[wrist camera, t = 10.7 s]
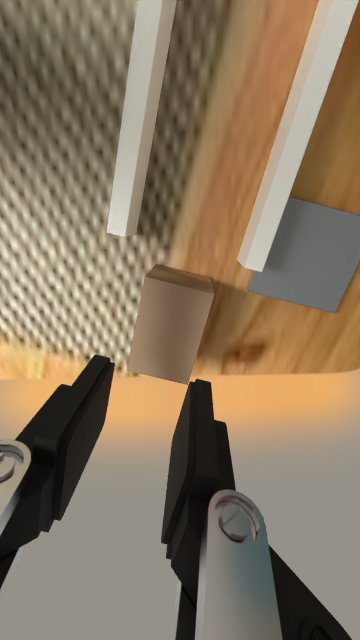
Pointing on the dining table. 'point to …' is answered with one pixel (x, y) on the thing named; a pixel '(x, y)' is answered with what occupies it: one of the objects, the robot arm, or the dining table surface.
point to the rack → (289, 140)
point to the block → (170, 323)
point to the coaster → (310, 256)
